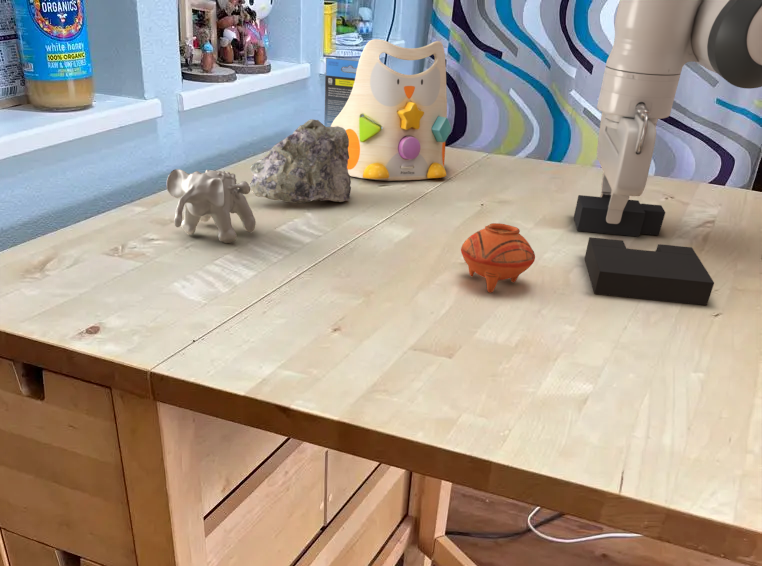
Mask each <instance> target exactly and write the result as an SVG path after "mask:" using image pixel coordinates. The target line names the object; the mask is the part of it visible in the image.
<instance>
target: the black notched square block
mask: <svg viewBox="0 0 762 566" xmlns="http://www.w3.org/2000/svg"><path fill="white" fill-rule="evenodd" d="M584 261H585V265H586V269H587V272H588V275H589V279H590V283H591V287H592V291H593V294H594V295H602V296H611V297H619V298H620V297H621V298H628V299H629V298H631V299H641V300H650V301H651V300H652V301H660V302H670V303H678V304H691V305H699V306H708V303H709V300H710V297H711V294H712V291H713V288H714V285H715V281H714V280H713V278H712V277H711V275H710V274H709V272H708V271H707V268H706V267H705V266H704V264H703V262H702V261H701V259H700V257H699V256H698V255H697V253H696V251H695V249H694V248H693V247H692V246H683V245H674V244H673V245H671V244H662V243H657V245H656V249H655V250H646V249H645V250H644V249H634V248H627V246H626V244H625V241H624V240H622V239H621V240H620V239H612V238H611V239H610V238H602V237H588V241H587V245H586V250H585V254H584Z"/></svg>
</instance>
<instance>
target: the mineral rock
mask: <svg viewBox="0 0 762 566" xmlns="http://www.w3.org/2000/svg"><path fill="white" fill-rule="evenodd" d="M348 146H349V139H348V135H347V133H346V131H345V129H344V128H342V127H339V126H336V127H326V126H324V123H322V122H321V121H320V120H319V119H313V118H312V119H308V120H307V121H305V122H304V123H303V124H300V125H299V126H298V127H297V128H296V129H295V130H294V131H293V132H292V134H290V135H288V136H287V137H285V138H283V139H282V140H280V141H279V142H277V143H276V144H274V145H273V146H272V147H271V149H270V150H269V151H268V152H267V153H266V154H265V155H264V157H263V158H260V159H258V160H257V161H255V162H254V163H252V164H251V165H250V172H251V173H252V177H251V178H252V179H251V182H250V183H249V186H250V191H251V192H252V194H253V195H254V196H256V197H258V198H266V199H269V200H274V201H281V202H286V203H295V204H304V203H307V202H312V201H331V202H333V203H335V202H337V203H343V202H348V201H349V200H350V198H351V192H352V187H351V184H352V181H351V176H350V175H349V174H348V169H347V166H348V159H349V152H348Z"/></svg>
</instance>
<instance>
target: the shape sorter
mask: <svg viewBox="0 0 762 566" xmlns="http://www.w3.org/2000/svg"><path fill="white" fill-rule="evenodd" d="M382 54H387V55H388V56H390V57H393V58H395V59H399V60H403V61H419V60H422V59H426V58H428V57H431V56H432V55H433V56H434V61H433V64H432V65H430V66H429V67H428V68H427V69H425V70H424V71H422V72H419V73H415V74H405V73H401V72H398V71H396V70H394V69H392V68H391V67H389V66H387V65H386V64H385V63H383V62H382V61H381V59H380V57H381V55H382ZM358 61H359V63H358V67H357V69H356V71H355V73H356V77H355V82H354V85H353V89H352V91H351V94H350V96H349V99H348V101H347V103H346V104H345V106H344V108H343V109H342V111H341V112H340V113H339V115H338V116H337V117H336V118H335V120H334V121H333V123H332V125H331V127H336V126H339V127H342V128H344V129H345V131H346V133H347V135H348V139H349V146H348V152H349V159H348V166H347V169H348V174H349V175H350V177H353V178H358V179H365V180H372V181H374V180H375V181H387V182H388V181H389V182H390V181H392V182H393V181H418V180H429V179H439V178H440V179H441V178H446V177H447V171H446V168H445V161H446V160H445V159H446V142H447V139H448V138H449V136H450V135H451V133H452V126H451V124H450V121H449V119H448V94H447V93H448V92H447V91H448V90H447V66H446V63H447V62H446V53H445V48H444V45H443V43H442V41H440V40H436V41H433V42H430V43H429V44H426V45H423V46H420V47H415V48H414V47H403V46H400V45H396V44H393V43H391V42H389V41H387V40H384V39H379V38H374V39H371V40H368V41H367V43H366V44H365V46H364V48H363V50H362V52H361V54H360V56H359V60H358ZM362 114H364V116H365V117H361V115H362Z"/></svg>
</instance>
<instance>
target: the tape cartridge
mask: <svg viewBox="0 0 762 566" xmlns="http://www.w3.org/2000/svg"><path fill="white" fill-rule="evenodd" d="M358 63H359V60H355V59H344V58H333V57H325V76H324V82H325V83H324V120H323V121H324V123H323V125H324V126H326V127H331V125H332V123H333V121H334V120H335V118H336V117H337V116H338V115H339V113H340V112H341V111H342V109H343V108H344V106H345V104H346V103H347V101H348V99H349V96H350V94H351V91H352V89H353V85H354V82H355V77H356V72H355V71H354V72H352V71H343V69H344V68H345V69H348V68H349V67H351V68H352V69H356V70H357V67H358ZM361 117H365V116H364V114H362V115H361Z"/></svg>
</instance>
